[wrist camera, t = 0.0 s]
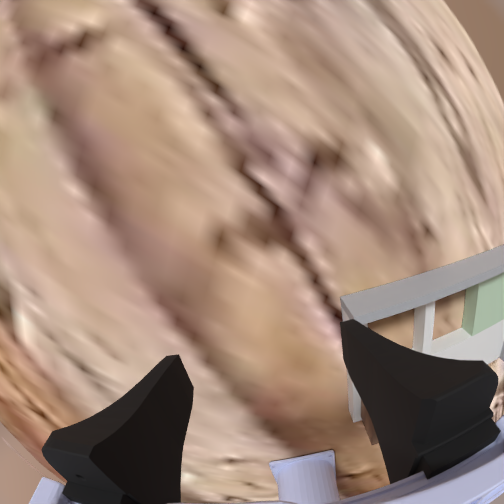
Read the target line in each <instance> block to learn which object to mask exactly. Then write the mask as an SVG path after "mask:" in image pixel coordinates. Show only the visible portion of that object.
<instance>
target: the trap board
mask: <svg viewBox="0 0 504 504" xmlns="http://www.w3.org/2000/svg"><path fill="white" fill-rule="evenodd" d="M464 289H466V294H465V305H464V314H463V321H462V328H459V329H457V330H455V331H453V332H450V333H448V334H446V335H444V336H441V337H439V338H437V339H434V340H432V336H433V326H434V313H435V301H436V300H438V299H441V298H444V297H446V296H449V295H451V294H454V293H456V292H459V291H461V290H464ZM340 300H341V309H342V318H343V321H347V320H350V319H355V320H356V321H358V322H360V323H361V324H363V325H364V326H366V327H367V328H368V325H367V323H370V322H373V321H376V320H380V319H383V318H386V317H389V316H392V315H395V314H398V313H402V312H405V311H407V310H410V309H413V308H415V314H414V335H413V348H411V349H412V350H415V351H417V352H421V353H424V354H428V355H432V356H436V357H442V358H448V359H456V360H483V361H484V362H485V363H486V364H487V365H488V364H489V363H491V362H493V361H494V360H496V359H498V358H501V359H502V360H503V361H504V245H501V246H499V247H496V248H494V249H491V250H488V251H486V252H483V253H480V254H477V255H475V256H472V257H469V258H466V259H463V260H461V261H458V262H455V263H452V264H449V265H446V266H443V267H440V268H437V269H434V270H431V271H428V272H425V273H421V274H418V275H415V276H412V277H409V278H405V279H402V280H399V281H395V282H392V283H388V284H385V285H382V286H378V287H375V288H371V289H367V290H364V291H360V292H356V293H353V294H349V295H345V296H341V297H340ZM347 380H348V402H349V412H350V414H351V417H352V420H353V423H354V422H358V421H361V420H362V418H361V398H360V396H359V394H358V392H357V390H356V388H355V386H354V384H353V382H352V380H351V378H350V376H349V373H348V370H347Z"/></svg>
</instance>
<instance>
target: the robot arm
mask: <svg viewBox="0 0 504 504" xmlns="http://www.w3.org/2000/svg"><path fill="white" fill-rule="evenodd" d="M340 327H341V337H342V348H343V359H344V362H345V365H346V368H347V370H348V373H349V376H350V378H351V380H352V382H353V384H354V386H355V388H356V390H357V392H358V394H359V396H360V398H361V400H362V402H363V404H364V406H365V408H366V410H367V411H368V414H369V416H370V418H371V421H372V424H373V426H374V429H375V432H376V435H377V438H378V441H379V444H380V448H381V451H382V454H383V458H384V461H385V465H386V469H387V472H388V477H389V481H390V485H387V486H384V487H381V488H378V489H375V490H372V491H369V492H366V493H363V494H360V495H356V496H353V497H349V498H345V499H342V500H340V497H339V493H338V488H337V484H336V471H335V455H334V451H333V450H328V451H324V452H320V453H315V454H311V455H306V456H301V457H296V458H290V459H285V460H278V461H272V462H270V463H269V466H270V469H271V471H272V473H273V475H274V478H275V480H276V482H277V484H278V494H279V501H257V502H245V503H221V504H489V503H490V502H492V501H493V500H494V499H496V498H497V497H498V496H500V495H501V494H502V493H503V492H504V415H503V416H502V417H500V418H499V420H498V421H497V422H496V423H495V422H494V421H493V420H492V417H493V412H492V411H491V409H490V408H489V407H490V404H491V402H492V400H493V397H494V395H495V392H496V389H497V386H498V376H497V374H496V373H495V372H494V371H493V370H492V369H491V368H490V367H489V366H488V365H487V364H486V363H485V362H484V361H483V360H456V359H448V358H442V357H436V356H432V355H428V354H424V353H421V352H417V351H415V350H412V349H409V348H406V347H404V346H401V345H399V344H397V343H395V342H393V341H391V340H389V339H387V338H385V337H383V336H381V335H379V334H378V333H376V332H374V331H372V330H371V329H369V328H367V327H366V326H364V325H363V324H361V323H360V322H358V321H356V320H355V319H350V320H347V321H343V322H340ZM193 390H194V387H193V385H192V383H191V381H190V378H189V376H188V374H187V372H186V370H185V368H184V365H183V363H182V361H181V359H180V356H179V354H178V355H171V356H166V357H165V358H164V359H163V360H161V361H160V362H159V363H158V364H157V365H156V366H155V367H154V368H153V369H152V370H151V371H150V372H149V373H148V374H147V375H146V376H145V377H144V378H143V379H142V380H141V381H140V382H139V383H138V384H136V385H135V386H134V387H133V388H132V389H131V390H130V391H128V392H127V393H126V394H125V395H124V396H123V397H121V398H120V399H119V400H117V401H116V402H114V403H113V404H112V405H110V406H109V407H107V408H105V409H104V410H102V411H100V412H99V413H97V414H95V415H93V416H91V417H89V418H87V419H85V420H83V421H81V422H78V423H76V424H74V425H71V426H68V427H65V428H62V429H59V430H55V431H52V433H51V435H50V436H49V438H48V440H47V441H46V443H45V444H44V446H43V448H42V453H43V456H44V457H45V459H46V460H47V461H48V463H49V464H50V465H51V466H52V467H53V468H54V469H55V470H56V471H57V472H58V473H59V474H61V475H62V476H63V477H64V478H65V479H66V480H67V483H66V486H65V485H63V484H62V483H60V482H57V481H54V480H51V479H49V478H46V477H42V479H41V481H40V483H39V485H38V487H37V488H36V490H35V492H34V495H33V496H32V499H31V500H30V503H29V504H201V503H181V491H180V482H181V462H182V451H183V445H184V440H185V436H186V432H187V427H188V423H189V419H190V414H191V410H192V404H193Z"/></svg>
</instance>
